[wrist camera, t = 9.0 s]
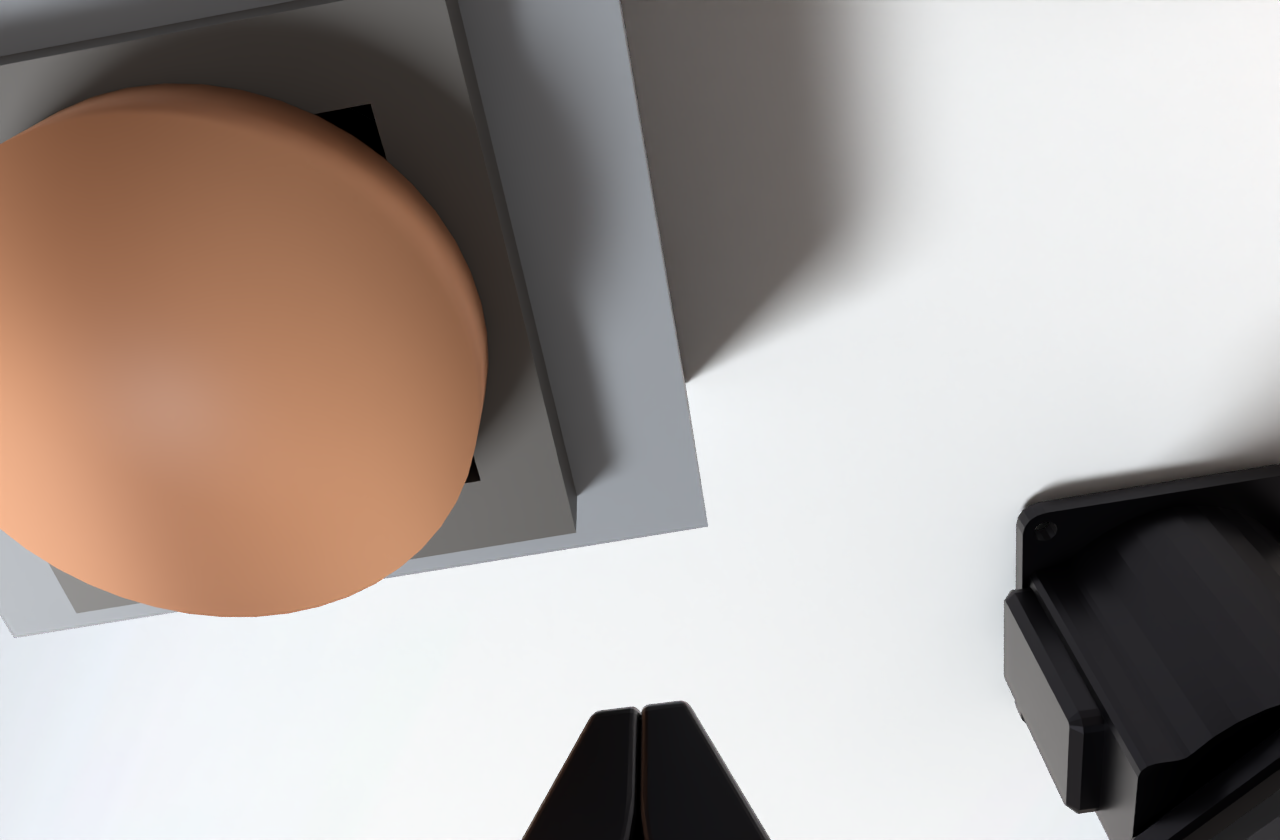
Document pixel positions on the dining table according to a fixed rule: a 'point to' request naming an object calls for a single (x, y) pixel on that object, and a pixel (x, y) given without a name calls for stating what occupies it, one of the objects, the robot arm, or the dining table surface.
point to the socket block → (474, 215)
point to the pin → (228, 351)
